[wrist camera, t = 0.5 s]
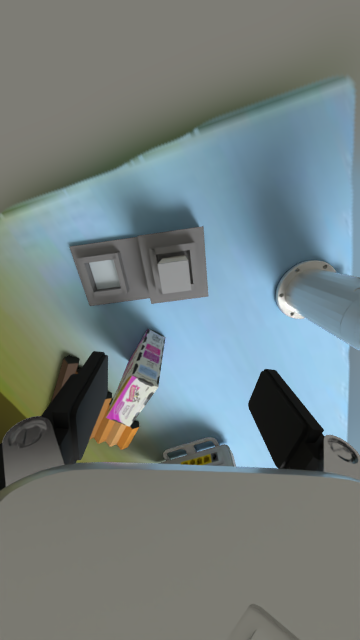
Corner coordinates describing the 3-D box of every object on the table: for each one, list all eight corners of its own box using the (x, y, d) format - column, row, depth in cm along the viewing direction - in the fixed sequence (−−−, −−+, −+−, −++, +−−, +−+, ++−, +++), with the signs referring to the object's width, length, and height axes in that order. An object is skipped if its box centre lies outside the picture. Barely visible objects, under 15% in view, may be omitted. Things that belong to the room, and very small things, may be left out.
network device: (162, 468, 65) (157, 557, 47) (151, 453, 62) (140, 544, 43) (232, 448, 61) (256, 537, 43) (224, 432, 58) (246, 520, 40)
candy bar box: (147, 327, 43) (131, 374, 28) (165, 336, 44) (160, 386, 29) (127, 361, 47) (103, 419, 32) (144, 369, 48) (130, 429, 33)
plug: (185, 254, 32) (188, 260, 24) (187, 277, 34) (191, 290, 26) (162, 257, 32) (157, 264, 24) (166, 280, 34) (162, 293, 26)
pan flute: (68, 353, 46) (49, 417, 55) (60, 361, 43) (41, 428, 52) (160, 385, 51) (129, 440, 60) (159, 395, 48) (126, 451, 57)
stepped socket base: (199, 228, 35) (205, 225, 29) (204, 289, 40) (210, 299, 33) (71, 246, 36) (48, 248, 30) (91, 304, 41) (75, 317, 34)
